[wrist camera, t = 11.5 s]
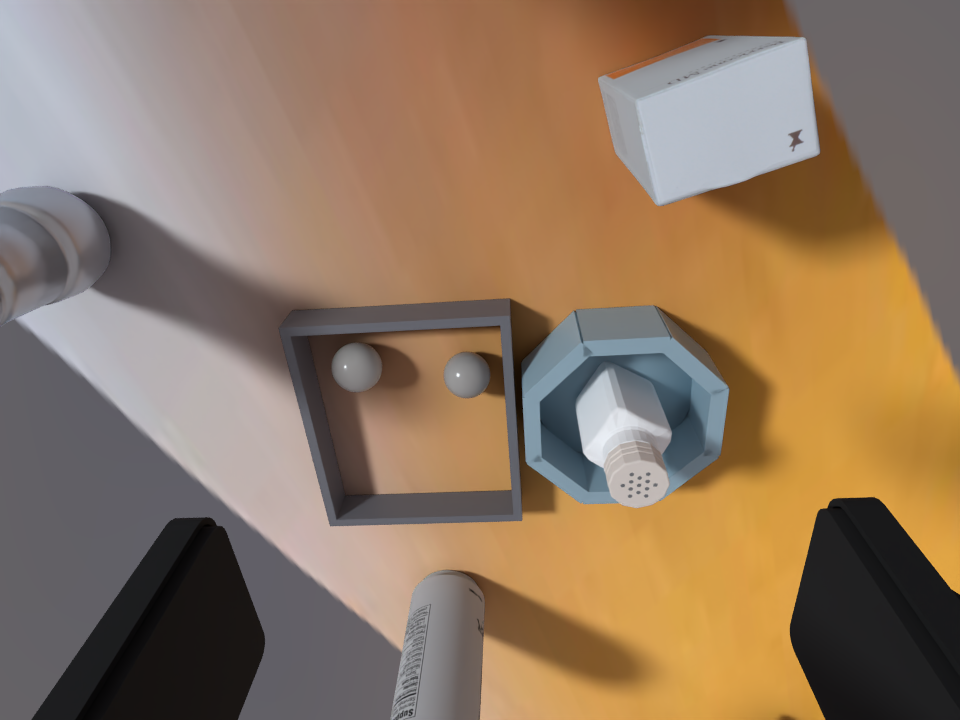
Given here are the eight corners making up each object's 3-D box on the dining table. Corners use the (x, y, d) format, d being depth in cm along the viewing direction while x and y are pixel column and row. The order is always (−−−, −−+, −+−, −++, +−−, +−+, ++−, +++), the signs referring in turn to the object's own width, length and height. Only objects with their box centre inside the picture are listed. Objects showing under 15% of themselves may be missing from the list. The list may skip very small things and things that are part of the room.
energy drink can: (468, 623, 53) (454, 821, 39) (403, 601, 52) (366, 797, 38) (497, 579, 50) (492, 776, 37) (429, 555, 49) (398, 749, 36)
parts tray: (291, 310, 39) (278, 328, 37) (509, 298, 38) (509, 315, 36) (339, 501, 47) (330, 526, 44) (521, 496, 45) (522, 520, 43)
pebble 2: (443, 344, 40) (438, 367, 37) (489, 342, 39) (487, 364, 37) (448, 384, 41) (444, 408, 38) (492, 382, 41) (491, 406, 38)
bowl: (518, 312, 38) (519, 344, 34) (713, 302, 37) (736, 333, 34) (526, 464, 44) (528, 505, 40) (696, 458, 43) (714, 500, 39)
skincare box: (710, 31, 31) (814, 31, 20) (724, 116, 32) (826, 158, 22) (592, 76, 32) (632, 98, 21) (612, 156, 34) (658, 213, 23)
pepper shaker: (621, 424, 41) (649, 524, 33) (570, 401, 41) (586, 496, 32) (655, 379, 40) (693, 473, 31) (602, 354, 39) (627, 443, 30)
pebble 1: (334, 335, 40) (320, 358, 37) (382, 332, 39) (372, 355, 37) (343, 377, 41) (330, 402, 38) (389, 375, 41) (380, 400, 38)
